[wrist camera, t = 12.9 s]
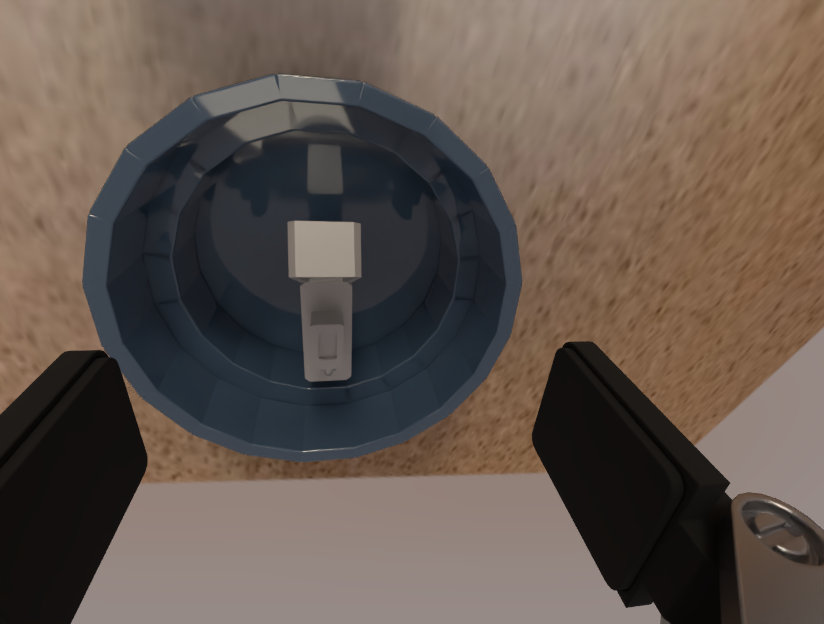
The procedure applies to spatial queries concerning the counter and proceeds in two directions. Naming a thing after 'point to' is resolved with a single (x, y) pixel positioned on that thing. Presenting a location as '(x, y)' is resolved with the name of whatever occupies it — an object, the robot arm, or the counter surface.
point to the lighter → (325, 292)
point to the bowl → (269, 273)
